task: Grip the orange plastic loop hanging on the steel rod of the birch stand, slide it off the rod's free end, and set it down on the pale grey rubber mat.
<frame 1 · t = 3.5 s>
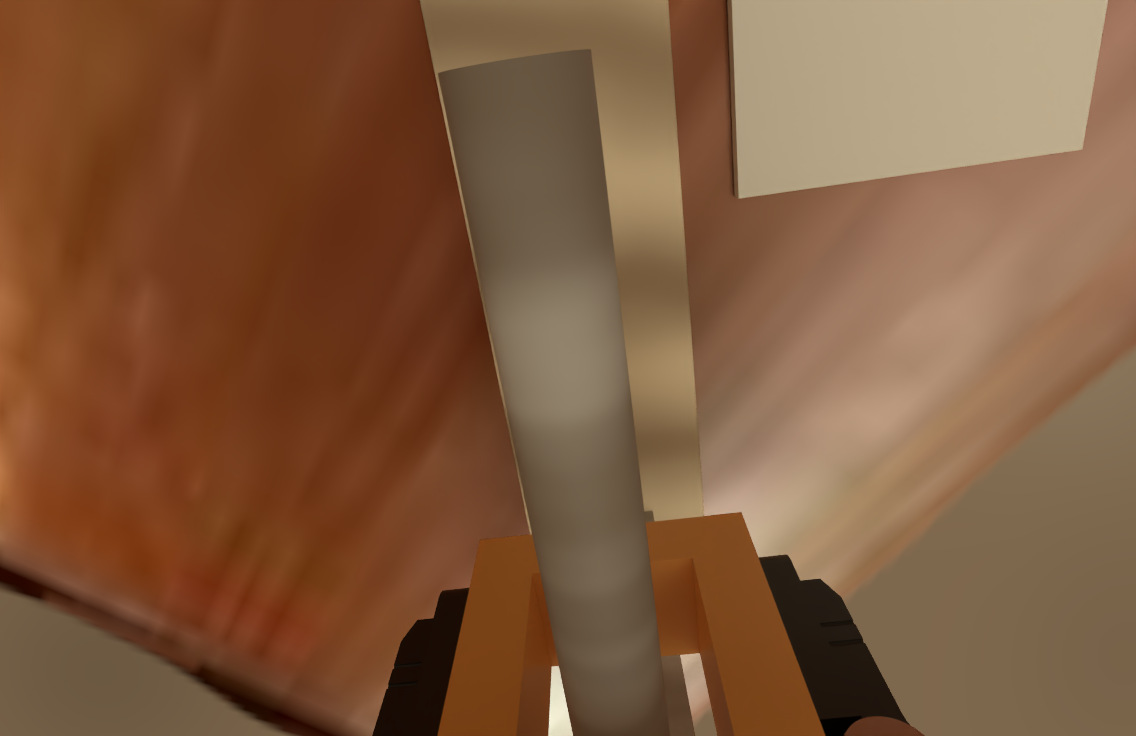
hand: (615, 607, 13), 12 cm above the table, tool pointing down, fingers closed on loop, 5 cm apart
hook stand: (584, 287, 23), on the table
loop: (615, 572, 14), point 11 cm above the table, touching gripper, hook stand
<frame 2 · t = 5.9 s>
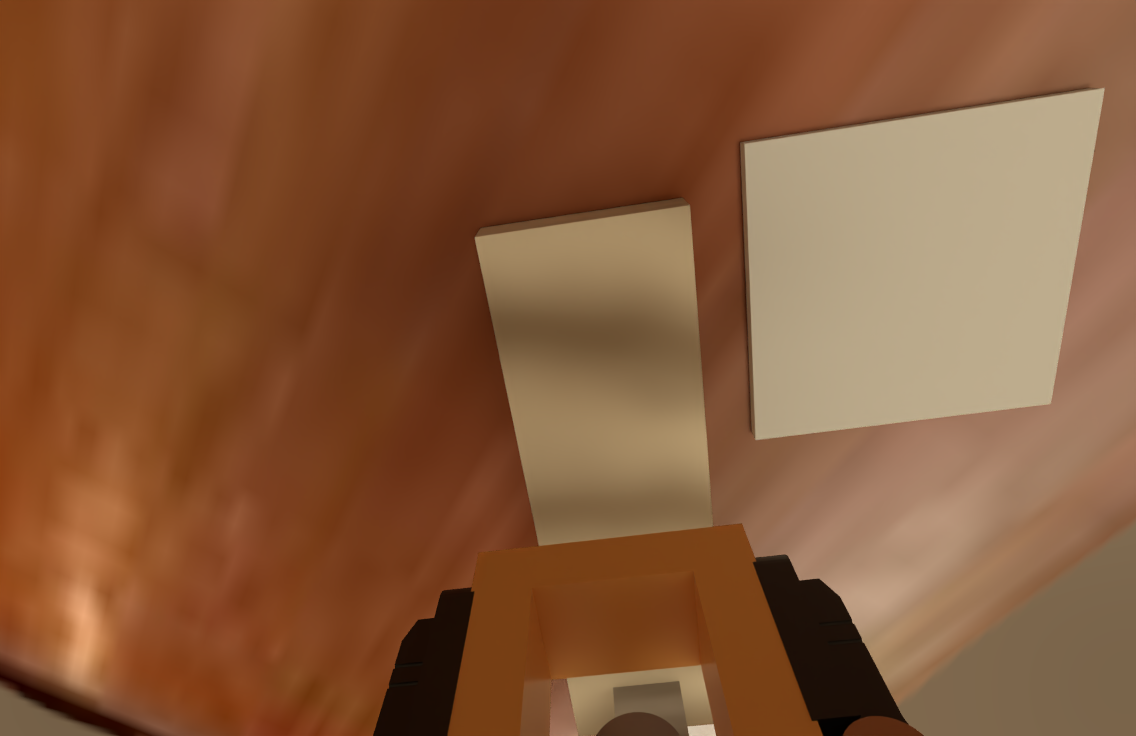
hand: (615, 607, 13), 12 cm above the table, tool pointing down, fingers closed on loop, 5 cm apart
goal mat: (901, 279, 23), on the table
hook stand: (620, 500, 27), on the table
loop: (615, 584, 14), point 12 cm above the table, touching gripper
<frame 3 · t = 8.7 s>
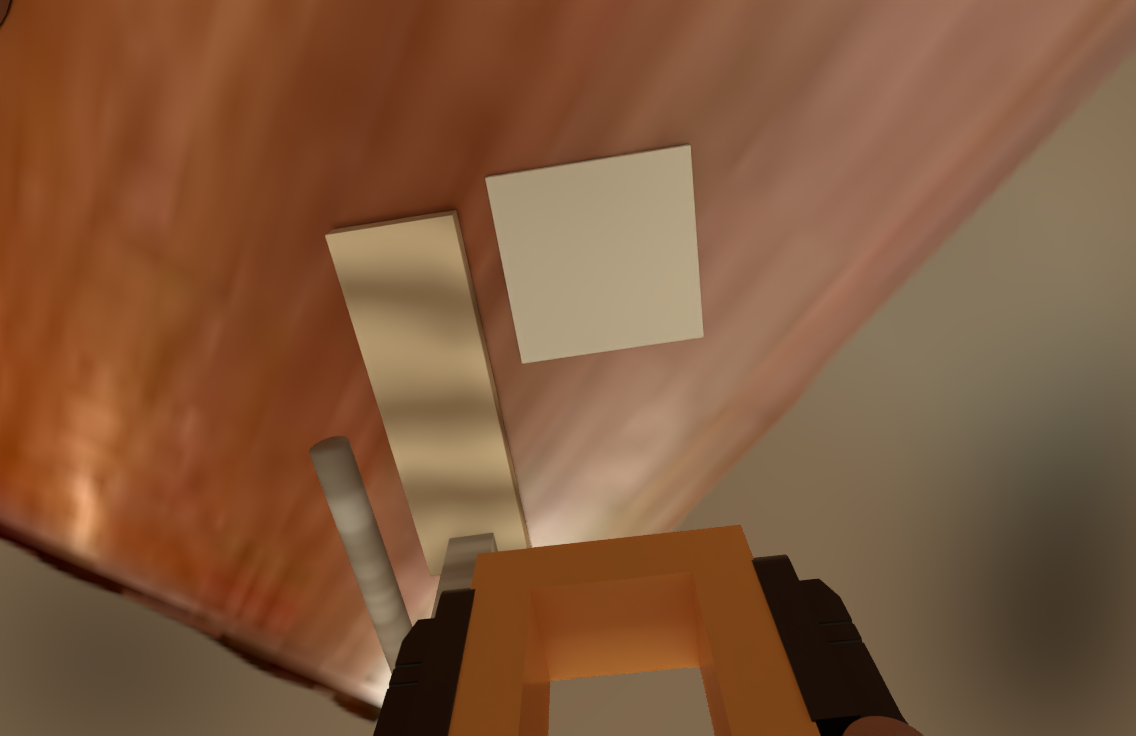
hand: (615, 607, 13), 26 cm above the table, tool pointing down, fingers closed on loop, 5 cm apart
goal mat: (599, 259, 37), on the table
hook stand: (444, 407, 41), on the table
loop: (614, 585, 14), point 25 cm above the table, touching gripper
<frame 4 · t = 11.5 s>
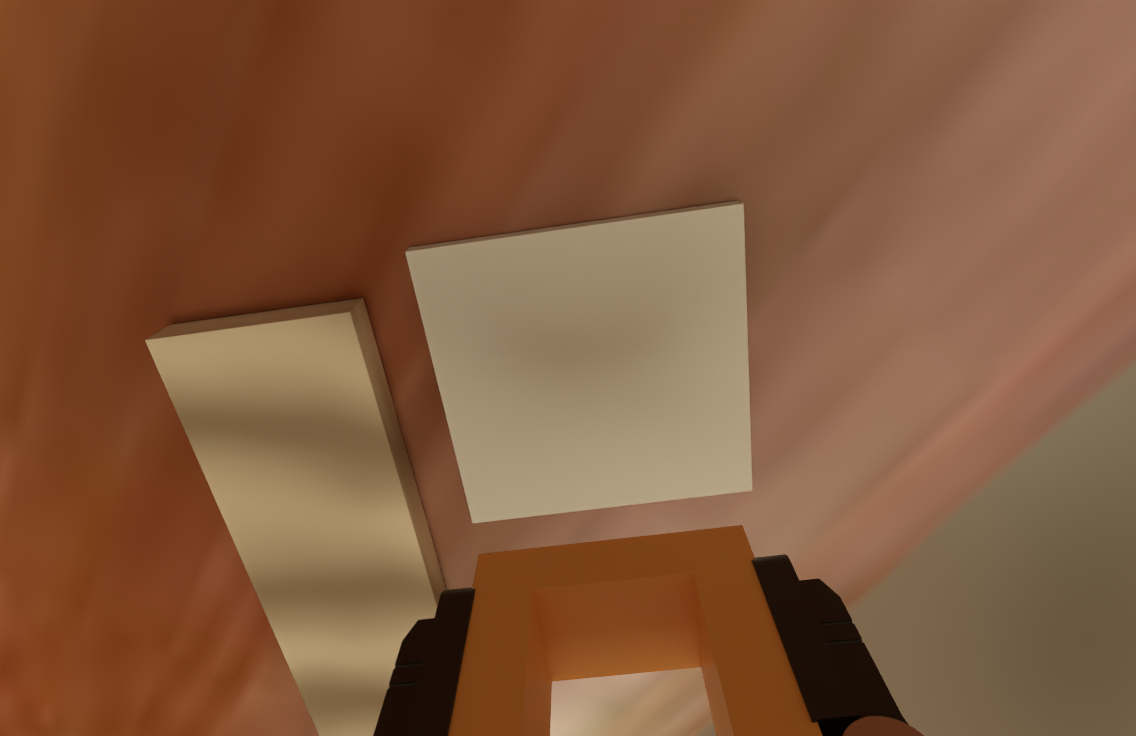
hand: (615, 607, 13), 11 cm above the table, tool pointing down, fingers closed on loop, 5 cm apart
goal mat: (592, 374, 23), on the table
hook stand: (359, 576, 27), on the table
loop: (615, 586, 14), point 11 cm above the table, touching gripper
when the fingers open (4 cm above the table, at t = 14.0 s): loop drops 2 cm, resting on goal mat.
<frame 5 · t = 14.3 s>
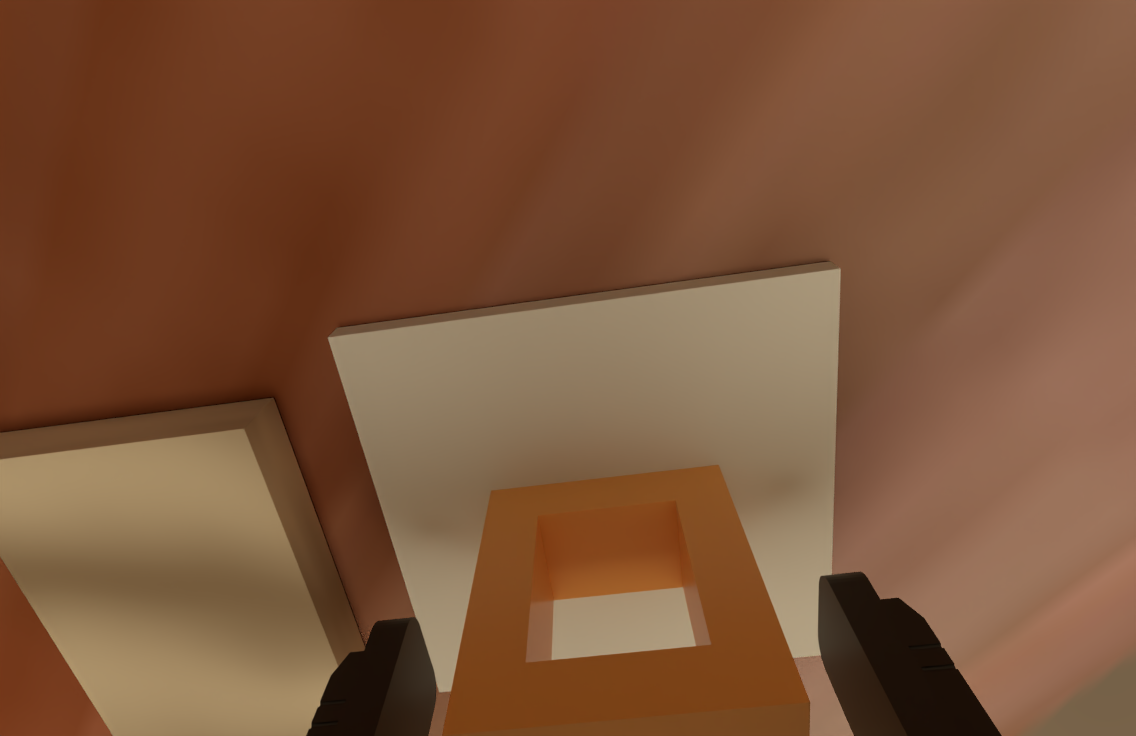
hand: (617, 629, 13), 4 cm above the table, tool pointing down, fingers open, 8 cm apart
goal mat: (606, 500, 16), on the table
loop: (609, 520, 16), point 1 cm above the table, touching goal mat
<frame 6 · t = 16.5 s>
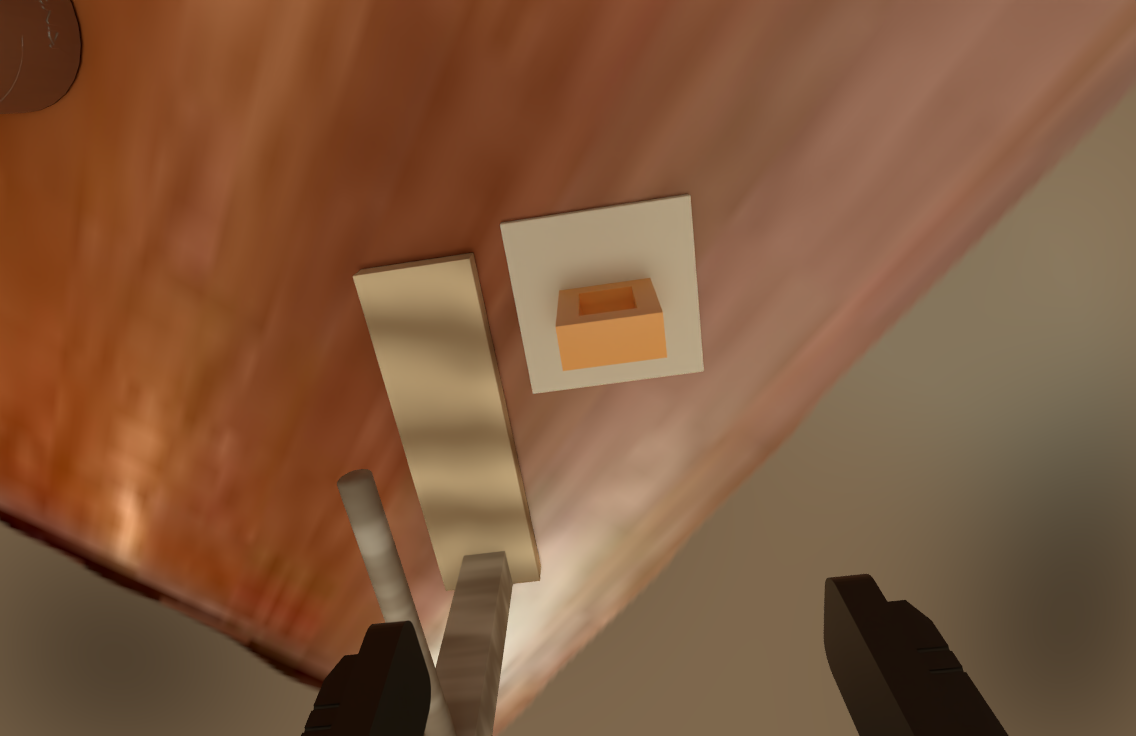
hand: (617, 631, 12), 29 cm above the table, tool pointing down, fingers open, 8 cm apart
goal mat: (606, 298, 39), on the table
hook stand: (460, 433, 43), on the table
loop: (607, 303, 39), point 1 cm above the table, touching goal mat
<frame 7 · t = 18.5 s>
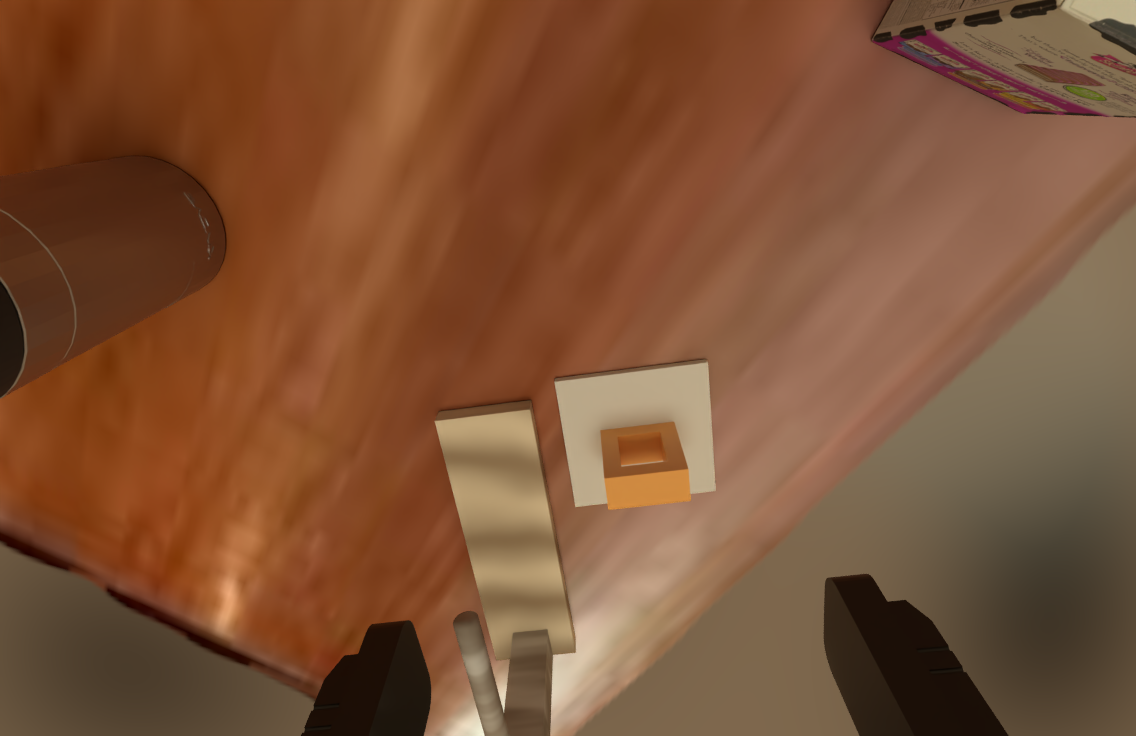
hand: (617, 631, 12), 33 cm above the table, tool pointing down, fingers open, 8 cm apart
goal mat: (637, 434, 49), on the table
hook stand: (513, 535, 52), on the table
candy bar box: (968, 36, 38), on the table
loop: (638, 440, 48), point 1 cm above the table, touching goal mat
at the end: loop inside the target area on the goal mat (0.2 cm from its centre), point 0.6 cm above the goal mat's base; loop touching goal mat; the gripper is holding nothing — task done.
